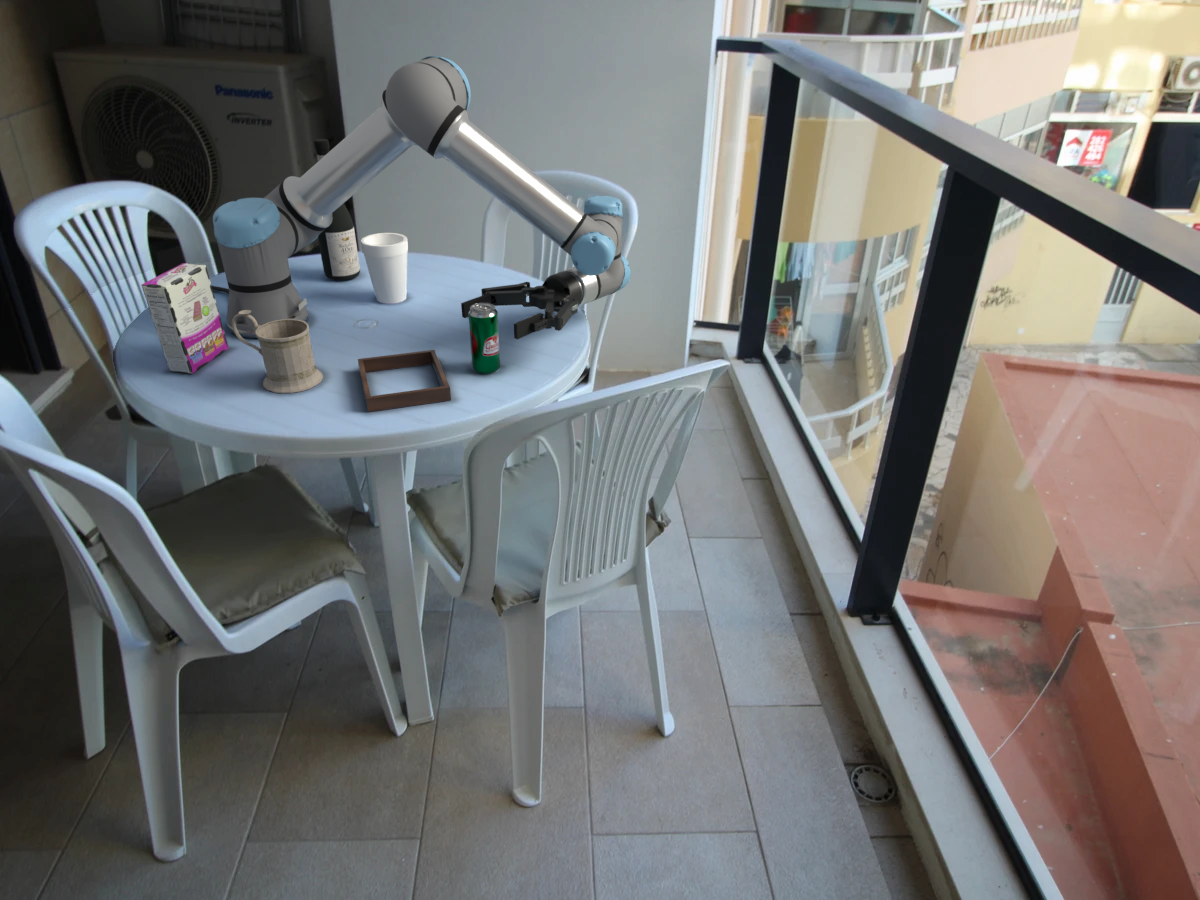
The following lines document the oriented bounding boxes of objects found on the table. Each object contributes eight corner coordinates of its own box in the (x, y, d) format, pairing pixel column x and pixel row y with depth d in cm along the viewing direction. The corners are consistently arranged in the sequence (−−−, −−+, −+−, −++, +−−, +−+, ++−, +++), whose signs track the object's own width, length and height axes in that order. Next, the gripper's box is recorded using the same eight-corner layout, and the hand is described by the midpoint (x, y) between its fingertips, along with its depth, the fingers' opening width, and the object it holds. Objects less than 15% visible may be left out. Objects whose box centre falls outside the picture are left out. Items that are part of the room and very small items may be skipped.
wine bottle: (367, 276, 180) (347, 140, 164) (336, 285, 175) (313, 145, 159) (349, 268, 184) (327, 134, 168) (318, 276, 180) (293, 139, 164)
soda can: (488, 378, 138) (484, 314, 131) (466, 370, 140) (461, 308, 134) (506, 367, 142) (503, 305, 135) (484, 360, 144) (480, 299, 137)
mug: (333, 371, 139) (321, 308, 132) (303, 396, 131) (289, 330, 124) (261, 361, 141) (246, 299, 135) (227, 385, 133) (210, 320, 127)
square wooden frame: (359, 371, 139) (357, 358, 138) (435, 361, 143) (434, 349, 142) (368, 412, 127) (366, 398, 125) (451, 400, 131) (450, 387, 129)
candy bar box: (206, 346, 146) (182, 261, 138) (230, 349, 146) (208, 264, 137) (166, 372, 137) (139, 283, 128) (192, 375, 136) (166, 286, 128)
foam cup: (422, 296, 170) (416, 238, 163) (391, 309, 163) (384, 249, 157) (391, 287, 174) (384, 230, 167) (360, 300, 168) (351, 240, 161)
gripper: (618, 325, 146) (539, 361, 132) (524, 292, 159) (444, 321, 146) (619, 287, 142) (538, 320, 128) (523, 256, 155) (440, 283, 141)
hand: (488, 320), depth 137 cm, fingers open, 13 cm apart
